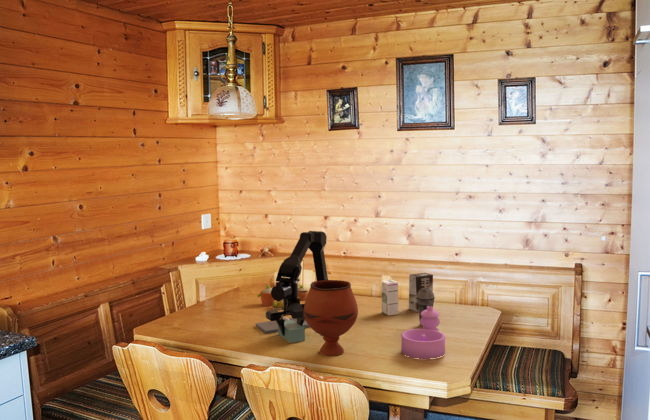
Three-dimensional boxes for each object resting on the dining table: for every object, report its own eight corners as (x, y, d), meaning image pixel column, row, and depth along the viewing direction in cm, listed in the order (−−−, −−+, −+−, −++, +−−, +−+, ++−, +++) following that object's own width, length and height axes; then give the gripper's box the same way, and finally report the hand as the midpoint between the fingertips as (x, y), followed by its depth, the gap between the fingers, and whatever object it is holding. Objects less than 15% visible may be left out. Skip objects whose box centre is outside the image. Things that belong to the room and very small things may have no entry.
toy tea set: (280, 312, 260) (279, 291, 259) (254, 307, 269) (253, 287, 268) (313, 299, 281) (313, 280, 280) (288, 295, 290) (288, 277, 289)
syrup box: (399, 314, 253) (399, 281, 252) (387, 315, 251) (387, 283, 250) (392, 311, 258) (392, 279, 257) (381, 312, 256) (381, 280, 255)
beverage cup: (436, 323, 238) (436, 276, 236) (432, 328, 232) (432, 280, 230) (419, 321, 241) (419, 275, 239) (414, 326, 235) (414, 278, 233)
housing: (292, 332, 229) (291, 320, 229) (304, 340, 218) (304, 327, 218) (278, 334, 226) (278, 322, 226) (290, 343, 216) (290, 330, 215)
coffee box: (416, 312, 256) (417, 276, 254) (408, 309, 262) (408, 274, 260) (433, 309, 260) (433, 274, 259) (424, 306, 266) (424, 272, 264)
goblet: (294, 350, 208) (293, 282, 206) (337, 340, 219) (336, 275, 216) (324, 365, 192) (323, 292, 190) (369, 353, 203) (368, 284, 201)
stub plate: (299, 319, 247) (299, 309, 247) (311, 326, 236) (311, 316, 236) (255, 326, 238) (255, 316, 238) (265, 333, 227) (265, 323, 227)
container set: (441, 362, 195) (441, 324, 193) (397, 357, 200) (397, 320, 199) (451, 340, 218) (452, 305, 217) (411, 336, 223) (411, 302, 222)
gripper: (275, 302, 210) (276, 344, 211) (321, 296, 218) (322, 336, 219) (264, 296, 219) (265, 335, 221) (309, 290, 228) (309, 328, 229)
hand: (291, 334), depth 222 cm, fingers closed on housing, 6 cm apart
